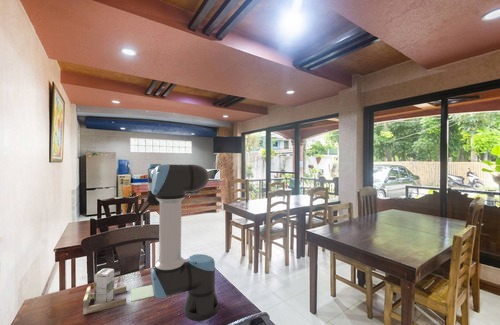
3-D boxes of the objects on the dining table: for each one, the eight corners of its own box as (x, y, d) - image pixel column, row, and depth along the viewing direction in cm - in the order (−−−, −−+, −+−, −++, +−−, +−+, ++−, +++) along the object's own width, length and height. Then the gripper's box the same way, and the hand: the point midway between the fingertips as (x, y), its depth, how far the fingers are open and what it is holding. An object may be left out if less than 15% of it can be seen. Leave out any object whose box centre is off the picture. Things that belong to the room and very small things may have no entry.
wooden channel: (126, 304, 107) (126, 291, 107) (83, 314, 100) (83, 300, 99) (126, 290, 118) (126, 278, 118) (87, 299, 111) (87, 286, 110)
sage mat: (154, 296, 113) (154, 295, 113) (130, 302, 109) (130, 301, 109) (152, 285, 123) (152, 284, 123) (130, 290, 118) (130, 289, 118)
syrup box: (102, 298, 111) (102, 268, 111) (114, 298, 111) (114, 268, 111) (93, 305, 106) (93, 274, 105) (106, 306, 105) (106, 274, 105)
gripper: (176, 188, 146) (176, 222, 146) (132, 189, 138) (132, 225, 138) (176, 189, 139) (176, 225, 139) (130, 191, 131) (130, 229, 131)
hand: (154, 225), depth 138 cm, fingers open, 13 cm apart
